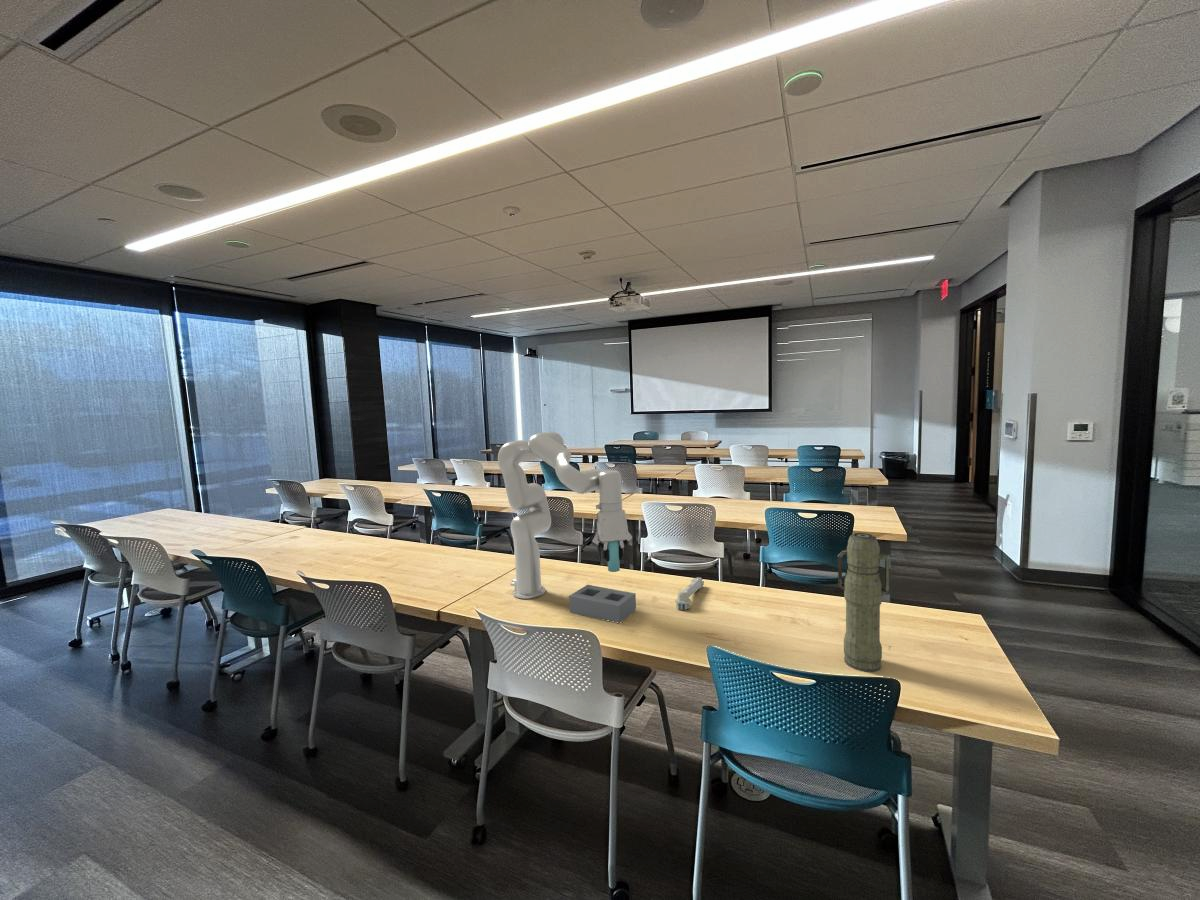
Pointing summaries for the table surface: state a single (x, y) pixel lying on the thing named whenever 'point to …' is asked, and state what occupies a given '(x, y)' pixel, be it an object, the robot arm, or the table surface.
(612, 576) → the table surface
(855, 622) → the thermos
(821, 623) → the table surface
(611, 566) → the teal dowel
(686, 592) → the grey handheld tool
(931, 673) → the table surface
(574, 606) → the hole block
